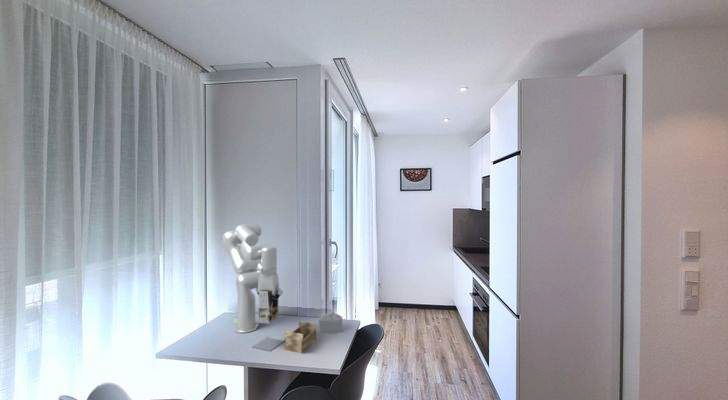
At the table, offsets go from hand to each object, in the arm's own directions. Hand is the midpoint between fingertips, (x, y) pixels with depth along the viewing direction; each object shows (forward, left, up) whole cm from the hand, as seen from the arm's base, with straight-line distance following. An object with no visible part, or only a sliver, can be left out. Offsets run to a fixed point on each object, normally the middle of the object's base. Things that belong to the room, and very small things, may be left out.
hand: (268, 305), depth 151 cm
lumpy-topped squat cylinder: (+22, +27, -20) cm, 40 cm away
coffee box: (0, 0, -7) cm, 7 cm away
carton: (+16, +5, -20) cm, 26 cm away
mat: (0, 0, -20) cm, 20 cm away
